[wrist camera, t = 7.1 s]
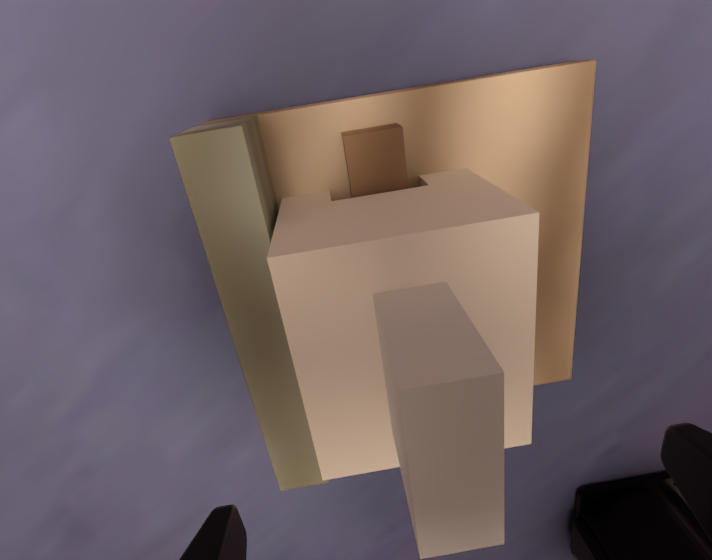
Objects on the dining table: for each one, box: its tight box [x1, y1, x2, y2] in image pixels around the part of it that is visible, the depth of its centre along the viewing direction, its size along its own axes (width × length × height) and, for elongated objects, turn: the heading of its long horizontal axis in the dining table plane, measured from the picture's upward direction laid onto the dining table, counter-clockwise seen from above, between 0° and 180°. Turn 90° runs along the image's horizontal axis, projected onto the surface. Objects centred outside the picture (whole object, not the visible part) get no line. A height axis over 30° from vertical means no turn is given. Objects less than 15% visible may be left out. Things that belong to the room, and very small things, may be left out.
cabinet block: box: [267, 168, 539, 559], centre depth 14 cm, size 7×8×10 cm
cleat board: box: [169, 60, 596, 491], centre depth 17 cm, size 14×14×5 cm
